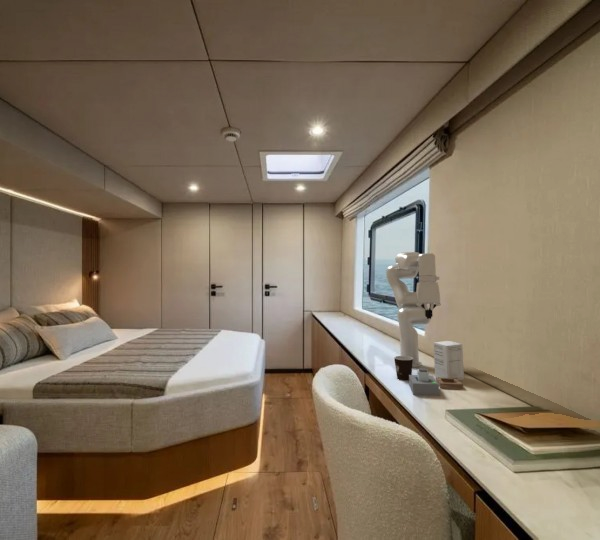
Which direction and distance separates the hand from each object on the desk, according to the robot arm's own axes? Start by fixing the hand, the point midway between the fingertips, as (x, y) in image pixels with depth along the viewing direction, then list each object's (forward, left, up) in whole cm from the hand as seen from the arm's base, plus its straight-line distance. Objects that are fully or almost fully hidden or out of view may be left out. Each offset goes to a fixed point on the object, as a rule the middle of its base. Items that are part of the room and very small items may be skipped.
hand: (428, 318), depth 150 cm
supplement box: (-5, +9, -29) cm, 31 cm away
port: (+15, -6, -29) cm, 33 cm away
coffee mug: (-3, -12, -29) cm, 32 cm away
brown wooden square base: (+7, +6, -29) cm, 31 cm away
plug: (+15, -6, -28) cm, 33 cm away
